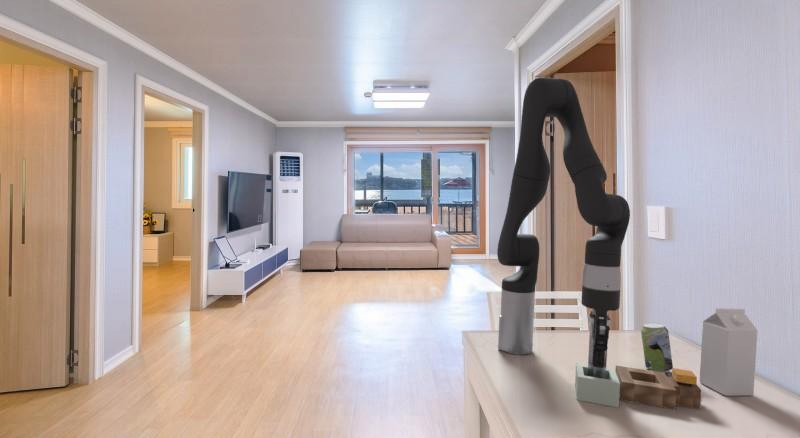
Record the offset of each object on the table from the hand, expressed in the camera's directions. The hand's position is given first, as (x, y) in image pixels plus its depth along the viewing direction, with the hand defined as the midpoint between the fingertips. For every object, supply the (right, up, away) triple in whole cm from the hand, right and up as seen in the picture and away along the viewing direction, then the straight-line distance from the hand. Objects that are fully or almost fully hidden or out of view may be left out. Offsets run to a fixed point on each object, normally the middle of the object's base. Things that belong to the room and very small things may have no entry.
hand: (597, 363), depth 90 cm
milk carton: (+33, -8, +6) cm, 34 cm away
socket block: (+13, -8, +1) cm, 15 cm away
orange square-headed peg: (+18, -7, -1) cm, 19 cm away
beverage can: (+23, -8, +16) cm, 29 cm away
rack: (0, -7, 0) cm, 7 cm away
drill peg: (0, -6, 0) cm, 6 cm away
